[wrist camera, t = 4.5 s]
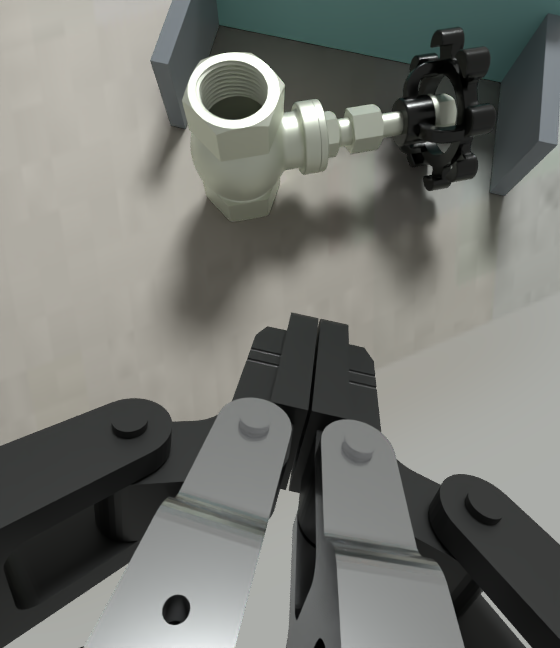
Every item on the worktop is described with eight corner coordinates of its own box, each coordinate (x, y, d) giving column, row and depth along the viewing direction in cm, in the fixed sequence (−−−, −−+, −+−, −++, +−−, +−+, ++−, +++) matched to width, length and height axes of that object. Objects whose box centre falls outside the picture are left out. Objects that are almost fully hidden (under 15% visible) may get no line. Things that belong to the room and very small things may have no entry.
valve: (214, 257, 20) (443, 214, 21) (190, 178, 14) (520, 122, 15) (193, 144, 22) (407, 109, 23) (162, 26, 15) (462, -16, 16)
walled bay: (170, 125, 22) (136, 16, 16) (209, 11, 24) (190, -123, 18) (504, 195, 21) (593, 109, 16) (515, 73, 23) (598, -43, 18)
